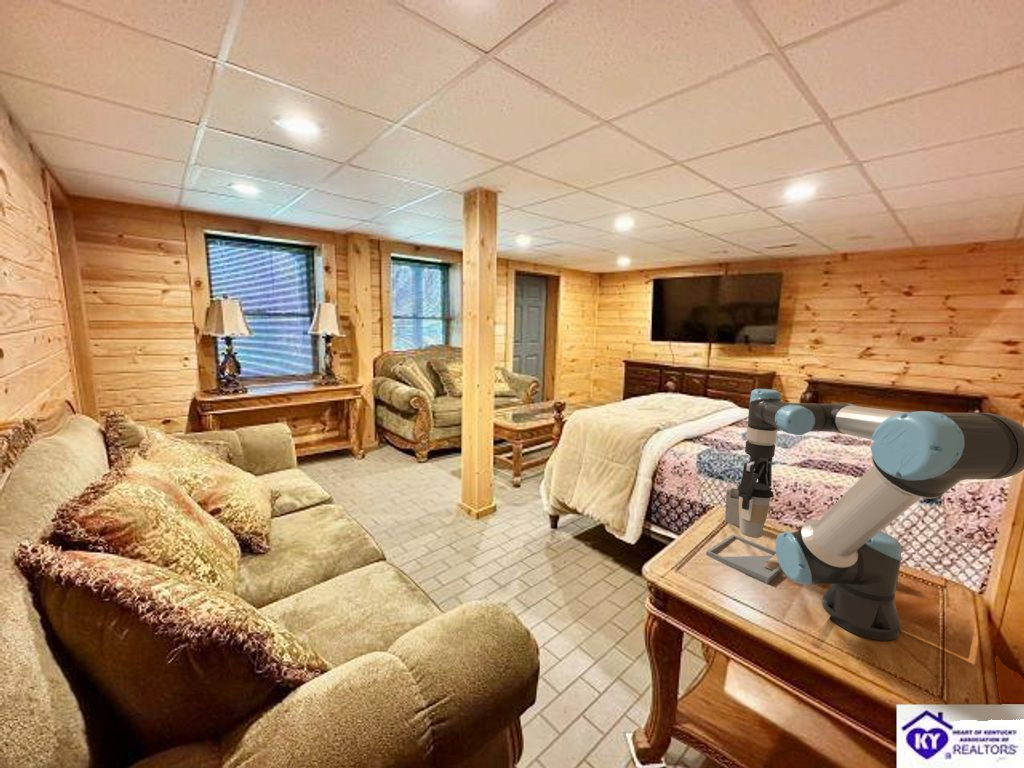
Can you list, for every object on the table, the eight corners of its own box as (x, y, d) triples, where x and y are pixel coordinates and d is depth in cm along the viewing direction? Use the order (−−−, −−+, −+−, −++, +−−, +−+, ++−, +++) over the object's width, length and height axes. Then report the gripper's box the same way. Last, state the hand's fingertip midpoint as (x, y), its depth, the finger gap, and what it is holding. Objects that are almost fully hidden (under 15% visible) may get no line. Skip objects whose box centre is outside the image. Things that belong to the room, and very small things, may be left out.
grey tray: (792, 563, 130) (792, 557, 130) (767, 584, 119) (768, 578, 119) (732, 539, 143) (733, 534, 143) (705, 556, 133) (706, 551, 132)
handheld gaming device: (752, 534, 147) (754, 528, 150) (755, 495, 144) (756, 490, 147) (724, 527, 153) (726, 522, 155) (726, 489, 149) (728, 484, 152)
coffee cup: (759, 527, 134) (764, 481, 132) (774, 542, 125) (780, 492, 123) (727, 525, 135) (732, 479, 133) (740, 539, 126) (746, 490, 124)
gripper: (762, 433, 136) (755, 501, 139) (729, 445, 122) (722, 519, 125) (789, 438, 130) (781, 509, 133) (757, 451, 116) (749, 529, 120)
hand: (752, 514), depth 129 cm, fingers closed on coffee cup, 9 cm apart
